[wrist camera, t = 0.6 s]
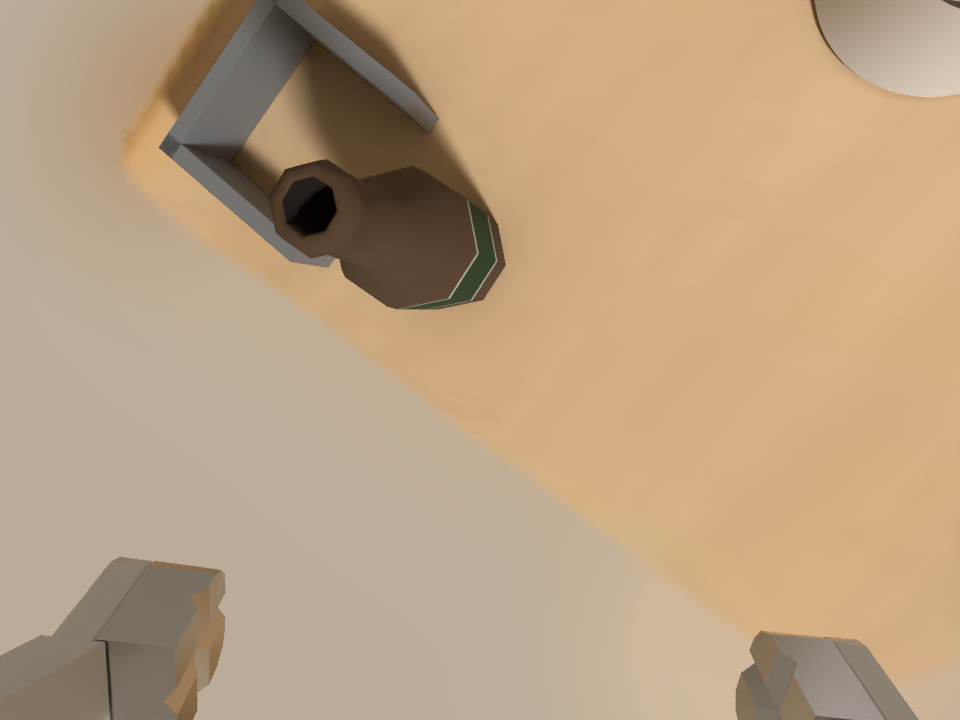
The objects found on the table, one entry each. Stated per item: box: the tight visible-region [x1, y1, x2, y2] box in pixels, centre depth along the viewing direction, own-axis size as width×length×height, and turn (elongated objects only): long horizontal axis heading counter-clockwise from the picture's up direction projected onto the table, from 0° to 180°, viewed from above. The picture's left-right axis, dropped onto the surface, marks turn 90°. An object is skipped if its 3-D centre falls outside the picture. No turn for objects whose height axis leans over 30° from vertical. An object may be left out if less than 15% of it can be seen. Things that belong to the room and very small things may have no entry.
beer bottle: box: [269, 159, 505, 309], centre depth 37 cm, size 8×8×24 cm
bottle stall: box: [159, 0, 439, 267], centre depth 47 cm, size 13×12×6 cm
